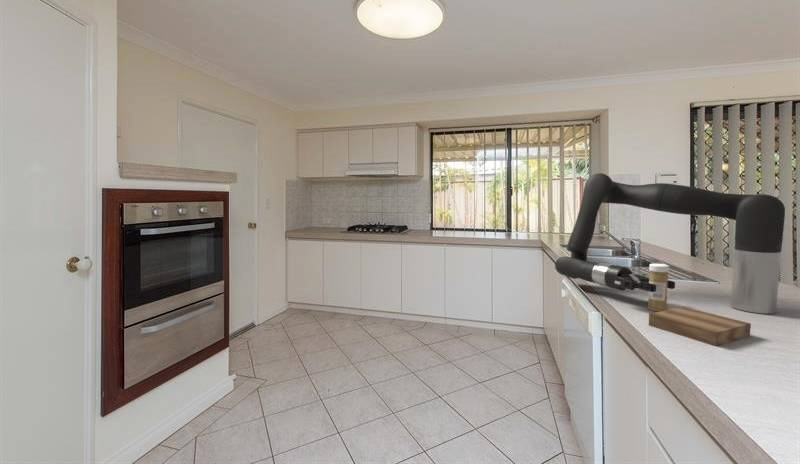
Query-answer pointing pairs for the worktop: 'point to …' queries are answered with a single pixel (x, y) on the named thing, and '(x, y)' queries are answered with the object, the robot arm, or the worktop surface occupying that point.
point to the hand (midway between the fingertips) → (665, 287)
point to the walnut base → (700, 325)
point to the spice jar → (658, 287)
